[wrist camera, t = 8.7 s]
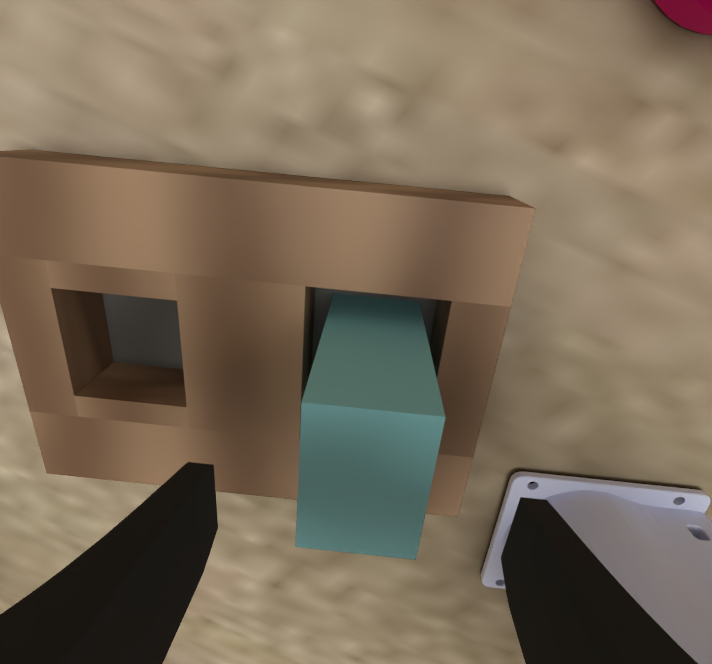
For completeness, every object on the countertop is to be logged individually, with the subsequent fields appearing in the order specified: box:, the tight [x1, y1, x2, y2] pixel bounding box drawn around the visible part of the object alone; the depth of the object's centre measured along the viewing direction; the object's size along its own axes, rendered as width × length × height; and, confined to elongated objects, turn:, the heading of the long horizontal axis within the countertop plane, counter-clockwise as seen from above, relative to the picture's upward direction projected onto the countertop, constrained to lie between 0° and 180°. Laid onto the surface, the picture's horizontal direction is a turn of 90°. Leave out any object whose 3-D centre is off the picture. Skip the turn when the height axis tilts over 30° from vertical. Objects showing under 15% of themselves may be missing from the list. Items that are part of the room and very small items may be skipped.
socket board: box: [0, 150, 536, 517], centre depth 18 cm, size 18×13×3 cm
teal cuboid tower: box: [296, 293, 445, 560], centre depth 15 cm, size 4×5×8 cm
